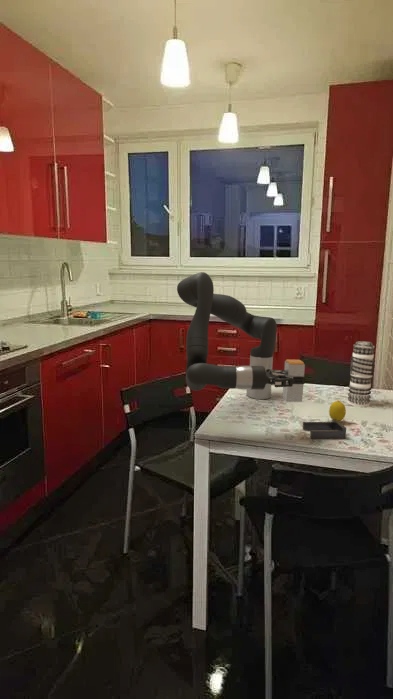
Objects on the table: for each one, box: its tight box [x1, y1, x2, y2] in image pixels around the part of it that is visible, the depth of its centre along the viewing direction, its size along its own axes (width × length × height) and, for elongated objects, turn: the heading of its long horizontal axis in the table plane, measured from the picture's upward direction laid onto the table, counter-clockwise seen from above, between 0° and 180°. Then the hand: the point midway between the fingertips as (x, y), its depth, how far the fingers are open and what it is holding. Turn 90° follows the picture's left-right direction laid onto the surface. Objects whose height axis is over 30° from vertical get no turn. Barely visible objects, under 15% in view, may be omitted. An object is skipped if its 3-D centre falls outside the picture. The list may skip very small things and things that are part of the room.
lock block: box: [282, 358, 306, 403], centre depth 145 cm, size 5×5×13 cm
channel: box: [301, 419, 347, 440], centre depth 148 cm, size 11×9×4 cm
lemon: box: [328, 400, 347, 422], centre depth 159 cm, size 6×6×8 cm
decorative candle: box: [347, 340, 376, 408], centre depth 180 cm, size 9×9×25 cm
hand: (301, 378), depth 145 cm, fingers closed on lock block, 5 cm apart
